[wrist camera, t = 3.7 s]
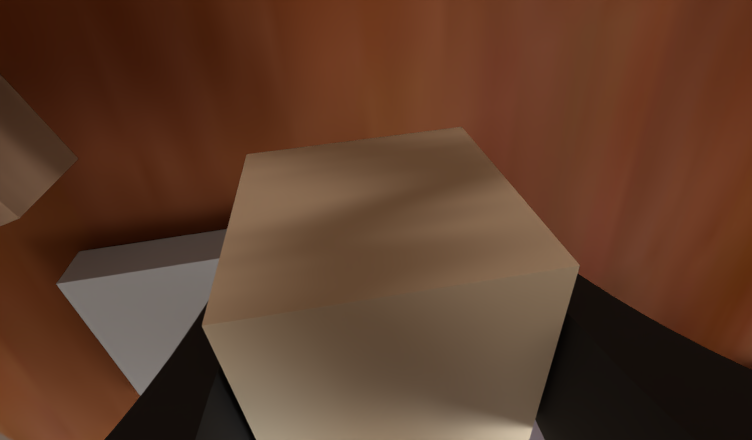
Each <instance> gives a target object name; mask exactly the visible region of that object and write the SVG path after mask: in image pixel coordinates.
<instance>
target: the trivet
mask: <svg viewBox="0 0 752 440" xmlns="http://www.w3.org/2000/svg"><path fill="white" fill-rule="evenodd" d="M226 232H227V229H224V230H218V231H211V232H204V233H198V234H191V235H185V236H178V237H171V238H165V239H158V240H152V241H145V242H138V243H132V244H125V245H119V246H112V247H105V248H99V249H92V250H86V251H79V252H78V254H77V255H76V256H75V258H74V259H73V261H72V262H71V264H70V265H69V266H68V268H67V269H66V271H65V272H64V273H63V275H62V276H61V278H60V279H59V281H58V282H57V283H56V285H57V286H58V287H59V289H60V290H61V291H62V293H63V294H64V295H65V296H66V298H67V299H68V300H69V302H70V303H71V304H72V306H73V307H74V308H75V310H76V311H77V312H78V314H79V315H80V316H81V318H82V319H83V320H84V322H85V323H86V324H87V326H88V327H89V328H90V330H91V331H92V332H93V334H94V335H95V336H96V338H97V339H98V340H99V342H100V343H101V344H102V346H103V347H104V348H105V350H106V351H107V352H108V354H109V355H110V356H111V357H112V359H113V360H114V361H115V363H116V364H117V365H118V367H119V368H120V369H121V371H122V372H123V373H124V375H125V376H126V377H127V379H128V380H129V381H130V383H131V384H132V385H133V387H134V388H135V389H136V391H137V392H138V393H139V395H140V396H141V395H142V393H143V392H144V391H145V389H146V388H147V387H148V385H149V384H150V383H151V381H152V380H153V379H154V377H155V376H156V375H157V374H158V372H159V371H160V370H161V368H162V367H163V366H164V364H165V363H166V362H167V360H168V359H169V358H170V356H171V355H172V353H173V352H174V351H175V349H176V348H177V346H178V345H179V343H180V342H181V340H182V339H183V338H184V336H185V335H186V333H187V332H188V330H189V329H190V327H191V326H192V324H193V323H194V322H195V320H196V319H197V317H198V315H199V314H200V312H201V311H202V309H203V308H204V306H205V305H206V303H207V302H208V300H209V296H210V292H211V289H212V285H213V281H214V277H215V273H216V270H217V266H218V262H219V258H220V254H221V251H222V247H223V243H224V239H225V235H226Z"/></svg>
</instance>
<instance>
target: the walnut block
mask: <svg viewBox="0 0 752 440" xmlns="http://www.w3.org/2000/svg"><path fill="white" fill-rule="evenodd" d="M77 160H78V158H77V157H76V156H75V155H74V153H73V152H72V151H71V150H70V149H69V148H68V147H67V146H66V145H65V144H64V143H63V142H62V140H61V139H60V138H59V137H58V136H57V135H56V134H55V133H54V132H53V131H52V130H51V129H50V127H49V126H48V125H47V124H46V123H45V122H44V121H43V120H42V119H41V118H40V117H39V116H38V114H37V113H36V112H35V111H34V110H33V109H32V108H31V107H30V106H29V105H28V104H27V103H26V101H25V100H24V99H23V98H22V97H21V96H20V95H19V94H18V93H17V92H16V91H15V90H14V88H13V87H12V86H11V85H10V84H9V83H8V82H7V81H6V80H5V79H4V78H3V77H2V76H1V74H0V226H2V225H5V224H7V223H9V222H12V221H14V220H16V219H19V218H20V217H21V216H22V215H23V214H24V213H25V212H26V211H27V210H28V209H29V208H30V207H31V206H32V205H33V204H34V203H35V202H36V201H37V200H38V199H39V198H40V197H41V196H42V195H43V194H44V193H45V192H46V191H47V190H48V189H49V188H50V187H51V186H52V185H53V184H54V183H55V182H56V181H57V180H58V179H59V178H60V177H61V176H62V175H63V174H64V173H65V172H66V171H67V170H68V169H69V168H70V167H71V166H72V165H73V164H74V163H75V162H76V161H77Z"/></svg>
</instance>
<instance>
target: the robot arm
mask: <svg viewBox="0 0 752 440" xmlns="http://www.w3.org/2000/svg"><path fill="white" fill-rule="evenodd" d="M207 304H208V302H207V303H206V305H205V306H204V308H203V309H202V311H201V312H200V314H199V315H198V317H197V319H196V320H195V322H194V323H193V324H192V326H191V327H190V329H189V330H188V332H187V333H186V335H185V336H184V338H183V339H182V340H181V342H180V343H179V345H178V346H177V348H176V349H175V351H174V352H173V353H172V355H171V356H170V358H169V359H168V360H167V362H166V363H165V364H164V366H163V367H162V368H161V370H160V371H159V372H158V374H157V375H156V376H155V377H154V379H153V380H152V381H151V383H150V384H149V385H148V387H147V388H146V389H145V391H144V392H143V393H142V395H141V396H140V397H139V399H138V400H137V401H136V402H135V404H134V405H133V406H132V407H131V408H130V410H129V411H128V412H127V413H126V415H125V416H124V417H123V418H122V420H121V421H120V422H119V423H118V424H117V426H116V427H115V428H114V429H113V430H112V431H111V433H110V434H109V435H108V436H107V437H106V438H105V440H256V438H255V436H254V434H253V432H252V430H251V428H250V426H249V424H248V422H247V420H246V417H245V415H244V413H243V411H242V409H241V407H240V405H239V403H238V401H237V399H236V397H235V394H234V392H233V390H232V388H231V386H230V384H229V382H228V380H227V378H226V376H225V374H224V371H223V369H222V367H221V365H220V363H219V361H218V359H217V357H216V355H215V353H214V351H213V348H212V346H211V344H210V342H209V340H208V338H207V336H206V334H205V332H204V330H203V328H202V323H203V319H204V315H205V311H206V308H207ZM529 440H752V370H751V369H749V368H746V367H744V366H742V365H740V364H738V363H736V362H734V361H731V360H729V359H727V358H725V357H723V356H721V355H719V354H717V353H715V352H713V351H711V350H709V349H707V348H705V347H703V346H701V345H699V344H697V343H695V342H693V341H692V340H690V339H688V338H686V337H684V336H682V335H680V334H678V333H676V332H674V331H672V330H670V329H668V328H667V327H665V326H663V325H661V324H659V323H658V322H656V321H654V320H652V319H650V318H649V317H647V316H645V315H643V314H642V313H640V312H638V311H637V310H635V309H633V308H632V307H630V306H628V305H627V304H625V303H623V302H622V301H620V300H618V299H617V298H615V297H613V296H612V295H610V294H608V293H607V292H605V291H604V290H602V289H601V288H599V287H597V286H596V285H594V284H593V283H591V282H590V281H588V280H587V279H585V278H584V277H582V276H581V275H579V274H577V277H576V281H575V284H574V287H573V291H572V294H571V298H570V301H569V305H568V308H567V312H566V315H565V318H564V322H563V325H562V329H561V332H560V336H559V339H558V342H557V346H556V349H555V353H554V356H553V360H552V363H551V367H550V370H549V373H548V377H547V380H546V384H545V387H544V391H543V394H542V397H541V401H540V404H539V408H538V411H537V415H536V418H535V422H534V425H533V428H532V432H531V435H530V439H529Z"/></svg>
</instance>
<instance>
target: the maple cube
mask: <svg viewBox="0 0 752 440" xmlns="http://www.w3.org/2000/svg"><path fill="white" fill-rule="evenodd" d="M579 267H580V265H579V264H578V263H577V261H576V260H575V259H574V258H573V257H572V256H571V254H570V253H569V252H568V251H567V250H566V249H565V247H564V246H563V245H562V244H561V243H560V242H559V240H558V239H557V238H556V237H555V236H554V235H553V233H552V232H551V231H550V230H549V229H548V228H547V226H546V225H545V224H544V223H543V222H542V220H541V219H540V218H539V217H538V216H537V215H536V213H535V212H534V211H533V210H532V209H531V208H530V206H529V205H528V204H527V203H526V202H525V201H524V199H523V198H522V197H521V196H520V195H519V194H518V192H517V191H516V190H515V189H514V188H513V187H512V185H511V184H510V183H509V182H508V181H507V179H506V178H505V177H504V176H503V175H502V174H501V172H500V171H499V170H498V169H497V168H496V167H495V165H494V164H493V163H492V162H491V161H490V160H489V158H488V157H487V156H486V155H485V154H484V153H483V151H482V150H481V149H480V148H479V147H478V146H477V144H476V143H475V142H474V141H473V140H472V138H471V137H470V136H469V135H468V134H467V133H466V131H465V130H464V129H463V128H462V127H457V128H449V129H441V130H434V131H426V132H418V133H410V134H402V135H394V136H387V137H379V138H371V139H363V140H355V141H347V142H340V143H332V144H324V145H316V146H308V147H300V148H293V149H285V150H277V151H269V152H261V153H253V154H247V155H246V159H245V163H244V167H243V171H242V174H241V178H240V182H239V186H238V190H237V193H236V197H235V201H234V205H233V209H232V212H231V216H230V220H229V224H228V228H227V232H226V235H225V239H224V243H223V247H222V251H221V254H220V258H219V262H218V266H217V270H216V273H215V277H214V281H213V285H212V289H211V292H210V296H209V300H208V304H207V308H206V311H205V315H204V319H203V323H202V328H203V330H204V332H205V334H206V336H207V338H208V340H209V342H210V344H211V346H212V348H213V351H214V353H215V355H216V357H217V359H218V361H219V363H220V365H221V367H222V369H223V371H224V374H225V376H226V378H227V380H228V382H229V384H230V386H231V388H232V390H233V392H234V394H235V397H236V399H237V401H238V403H239V405H240V407H241V409H242V411H243V413H244V415H245V417H246V420H247V422H248V424H249V426H250V428H251V430H252V432H253V434H254V436H255V438H256V440H529V439H530V435H531V432H532V428H533V425H534V422H535V418H536V415H537V411H538V408H539V404H540V401H541V397H542V394H543V391H544V387H545V384H546V380H547V377H548V373H549V370H550V367H551V363H552V360H553V356H554V353H555V349H556V346H557V342H558V339H559V336H560V332H561V329H562V325H563V322H564V318H565V315H566V312H567V308H568V305H569V301H570V298H571V294H572V291H573V287H574V284H575V281H576V277H577V274H578V270H579Z"/></svg>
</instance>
